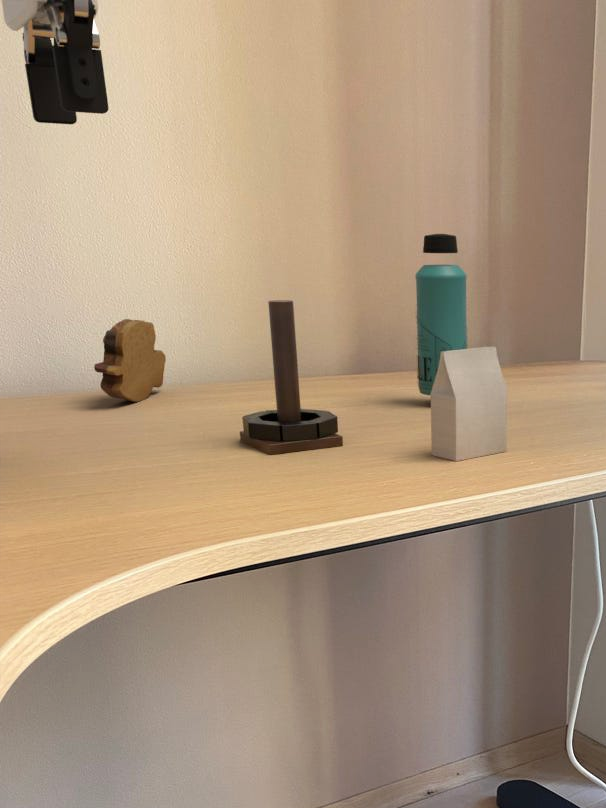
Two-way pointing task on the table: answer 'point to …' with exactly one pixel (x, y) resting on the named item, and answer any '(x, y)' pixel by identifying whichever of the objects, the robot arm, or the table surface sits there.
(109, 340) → the wooden carving
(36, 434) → the table surface
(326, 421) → the ring
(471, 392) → the grey gabled box
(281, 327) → the post
